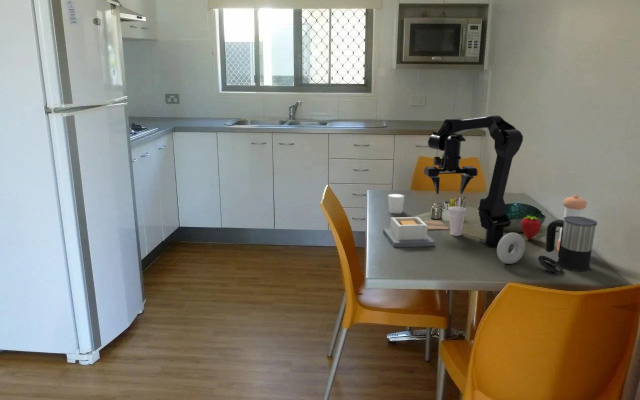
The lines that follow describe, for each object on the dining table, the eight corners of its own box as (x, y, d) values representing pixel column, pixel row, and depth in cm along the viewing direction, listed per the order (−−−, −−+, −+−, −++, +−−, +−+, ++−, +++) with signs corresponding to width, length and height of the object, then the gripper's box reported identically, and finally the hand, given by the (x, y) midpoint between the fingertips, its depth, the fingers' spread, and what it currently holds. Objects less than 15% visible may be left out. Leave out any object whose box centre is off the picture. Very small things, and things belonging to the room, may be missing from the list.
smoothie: (466, 237, 189) (469, 199, 185) (448, 236, 189) (451, 198, 186) (462, 231, 195) (465, 194, 192) (444, 231, 195) (447, 194, 192)
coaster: (448, 229, 197) (448, 228, 197) (420, 230, 196) (420, 229, 196) (439, 221, 208) (439, 220, 208) (411, 221, 207) (411, 220, 206)
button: (417, 230, 183) (417, 224, 182) (403, 230, 182) (403, 224, 182) (413, 225, 188) (413, 220, 187) (399, 226, 187) (399, 220, 187)
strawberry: (530, 243, 183) (533, 215, 180) (514, 237, 189) (517, 210, 187) (543, 241, 185) (546, 214, 182) (527, 235, 192) (530, 208, 189)
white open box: (434, 245, 179) (435, 227, 177) (394, 247, 177) (395, 228, 176) (420, 231, 194) (421, 214, 193) (382, 232, 193) (383, 215, 191)
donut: (518, 259, 167) (521, 229, 165) (526, 263, 164) (529, 232, 162) (492, 263, 163) (495, 232, 161) (500, 267, 160) (503, 236, 158)
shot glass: (385, 212, 219) (386, 196, 217) (388, 208, 225) (389, 192, 224) (402, 214, 217) (403, 197, 215) (404, 210, 223) (405, 194, 222)
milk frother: (591, 264, 164) (598, 218, 160) (587, 281, 151) (594, 232, 147) (542, 256, 171) (548, 211, 167) (534, 271, 158) (540, 224, 154)
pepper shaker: (566, 255, 171) (574, 198, 166) (551, 248, 178) (558, 193, 173) (585, 253, 173) (593, 197, 168) (569, 246, 180) (577, 192, 175)
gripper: (467, 149, 203) (464, 188, 206) (420, 149, 201) (418, 189, 204) (479, 153, 192) (476, 195, 196) (430, 154, 190) (427, 196, 194)
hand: (449, 193), depth 198 cm, fingers open, 9 cm apart
